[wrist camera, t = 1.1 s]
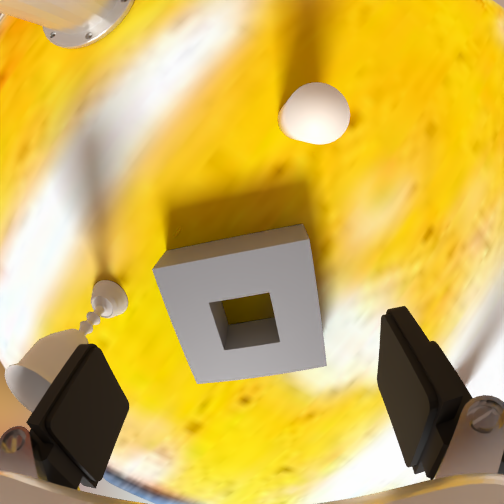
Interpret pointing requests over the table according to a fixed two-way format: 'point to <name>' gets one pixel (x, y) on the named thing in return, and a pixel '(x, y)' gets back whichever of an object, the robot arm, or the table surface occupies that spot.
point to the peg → (315, 114)
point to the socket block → (241, 285)
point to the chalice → (60, 347)
